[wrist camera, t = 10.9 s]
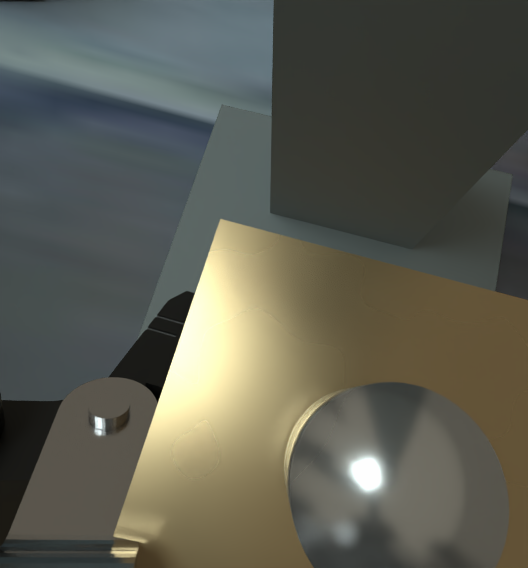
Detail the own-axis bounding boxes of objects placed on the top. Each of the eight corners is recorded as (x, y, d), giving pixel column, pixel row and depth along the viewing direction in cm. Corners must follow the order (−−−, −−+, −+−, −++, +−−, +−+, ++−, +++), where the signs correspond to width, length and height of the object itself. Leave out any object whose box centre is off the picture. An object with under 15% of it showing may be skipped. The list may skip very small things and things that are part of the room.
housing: (206, 478, 13) (-4, 747, 3) (249, 335, 14) (207, 164, 4) (353, 525, 12) (705, 1019, 2) (385, 373, 13) (714, 293, 4)
